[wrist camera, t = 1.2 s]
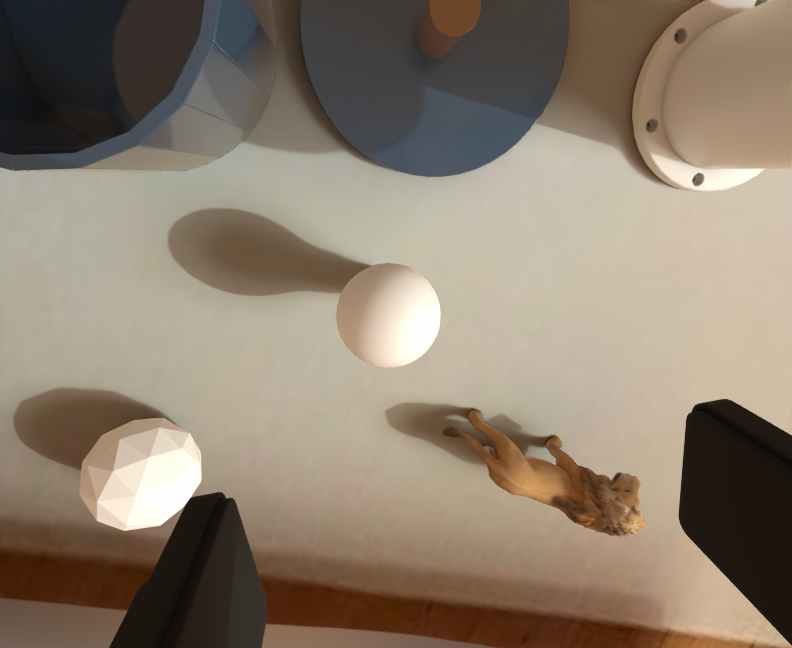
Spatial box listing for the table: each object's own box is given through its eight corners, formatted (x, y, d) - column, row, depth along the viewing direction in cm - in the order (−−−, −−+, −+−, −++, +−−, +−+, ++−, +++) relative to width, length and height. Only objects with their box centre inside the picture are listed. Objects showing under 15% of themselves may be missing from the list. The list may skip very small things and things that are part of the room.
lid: (525, -173, 26) (575, -273, 20) (584, 126, 32) (637, 115, 26) (255, -65, 27) (228, -132, 21) (360, 211, 32) (362, 220, 26)
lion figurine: (604, 432, 40) (672, 501, 32) (582, 481, 42) (641, 560, 33) (449, 402, 38) (478, 468, 29) (432, 455, 39) (454, 532, 31)
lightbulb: (328, 306, 34) (317, 364, 24) (357, 231, 33) (359, 257, 22) (401, 333, 35) (422, 399, 25) (433, 261, 34) (469, 300, 23)
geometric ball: (202, 422, 39) (239, 486, 34) (123, 490, 37) (150, 568, 32) (138, 378, 34) (172, 447, 29) (41, 456, 32) (60, 544, 27)
